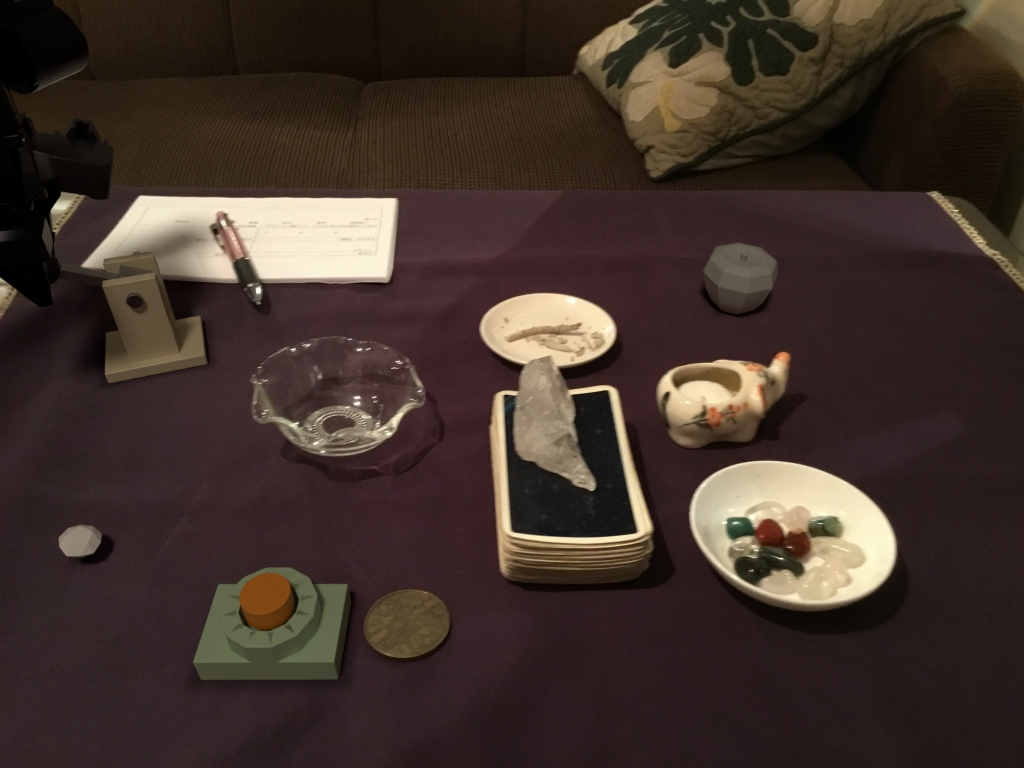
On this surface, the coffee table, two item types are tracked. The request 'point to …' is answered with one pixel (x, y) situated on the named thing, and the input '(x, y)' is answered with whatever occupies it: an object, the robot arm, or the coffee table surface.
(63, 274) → the press lever
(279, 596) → the button
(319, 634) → the button block
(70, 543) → the gemstone
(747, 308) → the apple
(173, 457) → the coffee table surface
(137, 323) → the lever bracket
